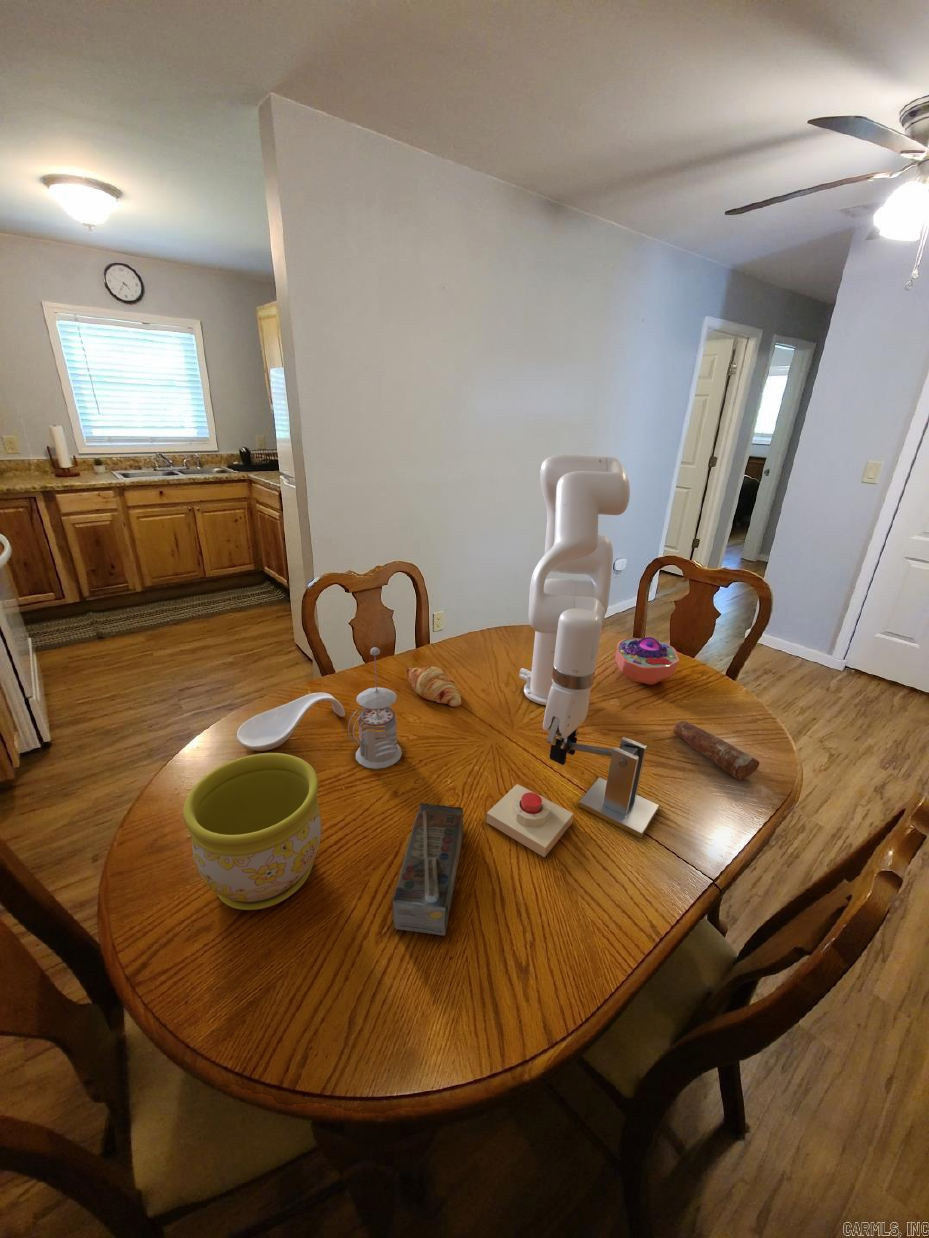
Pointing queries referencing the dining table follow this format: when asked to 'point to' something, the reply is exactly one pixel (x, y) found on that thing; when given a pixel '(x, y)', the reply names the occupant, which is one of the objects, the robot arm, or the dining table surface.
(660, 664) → the cell model
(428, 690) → the croissant
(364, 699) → the french press
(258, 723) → the spoon rest
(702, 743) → the salami
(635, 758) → the bracket
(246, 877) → the flowerpot
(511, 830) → the button block
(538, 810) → the button
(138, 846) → the dining table surface
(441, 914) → the grey printed box
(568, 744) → the lever
